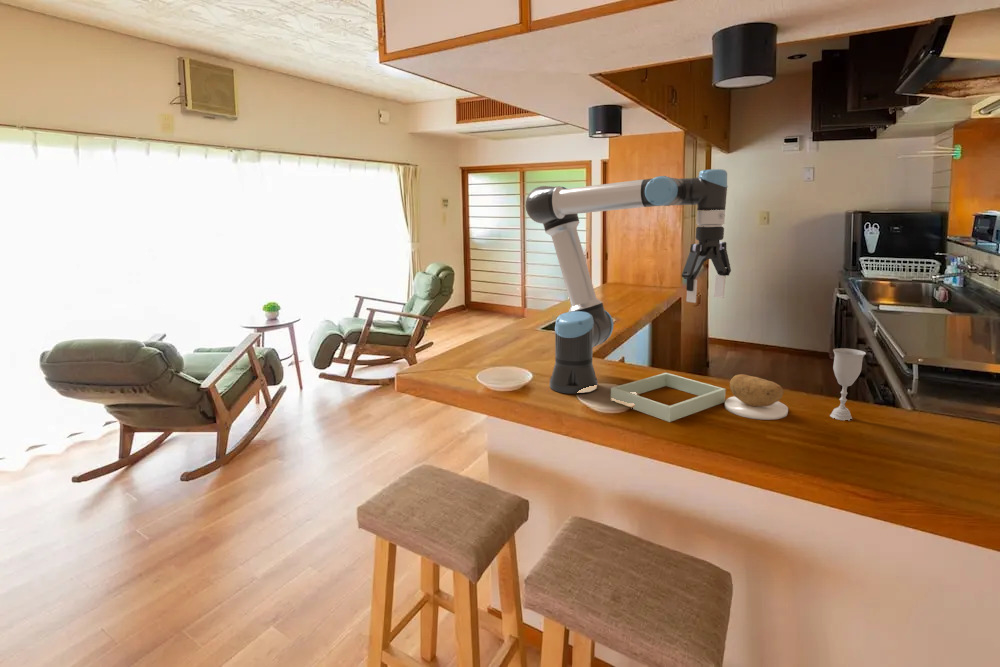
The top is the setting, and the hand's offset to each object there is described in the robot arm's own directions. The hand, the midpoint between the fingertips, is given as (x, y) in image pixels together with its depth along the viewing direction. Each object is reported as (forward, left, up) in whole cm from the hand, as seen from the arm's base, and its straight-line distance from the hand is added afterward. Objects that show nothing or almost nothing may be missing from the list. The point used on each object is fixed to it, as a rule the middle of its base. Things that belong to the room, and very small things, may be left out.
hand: (705, 299), depth 161 cm
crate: (-1, -14, -29) cm, 32 cm away
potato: (+18, 0, -28) cm, 33 cm away
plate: (+18, 0, -29) cm, 34 cm away
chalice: (+35, +12, -29) cm, 47 cm away
